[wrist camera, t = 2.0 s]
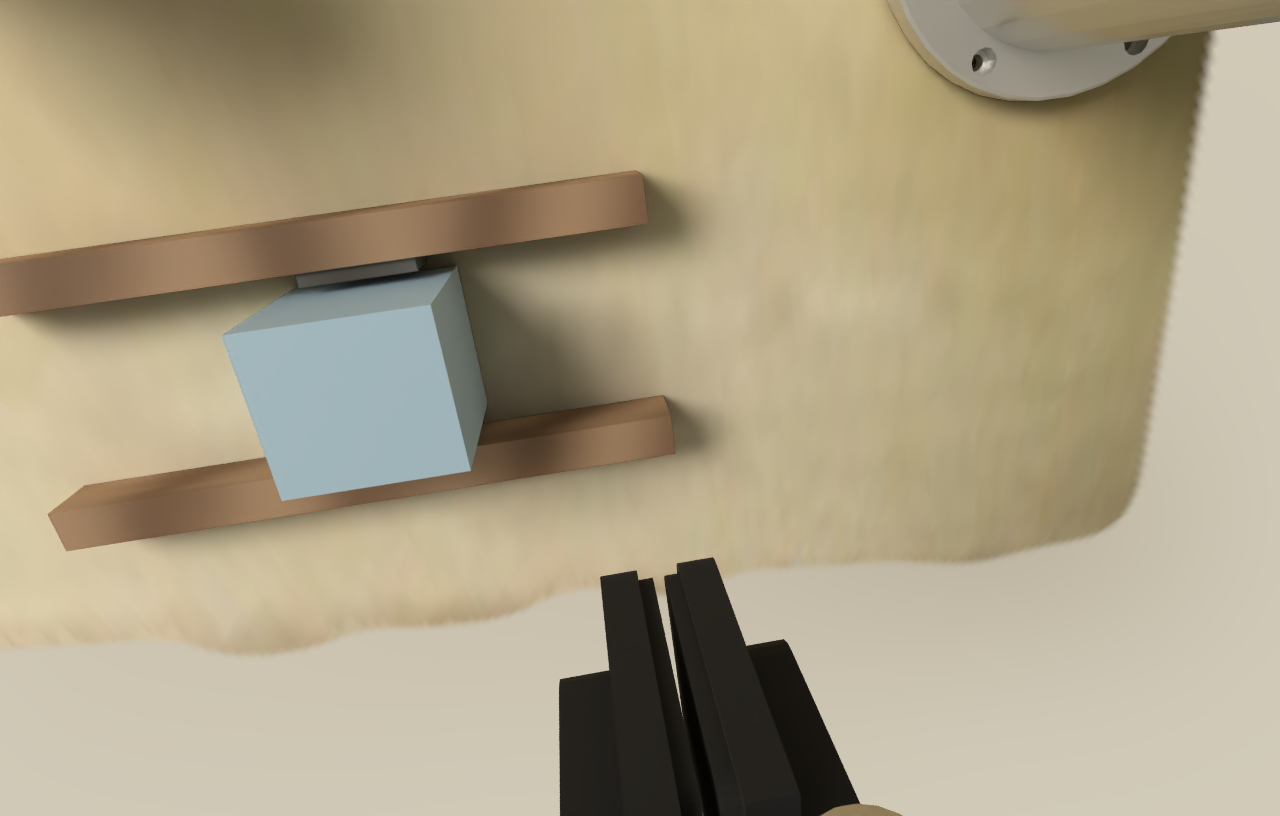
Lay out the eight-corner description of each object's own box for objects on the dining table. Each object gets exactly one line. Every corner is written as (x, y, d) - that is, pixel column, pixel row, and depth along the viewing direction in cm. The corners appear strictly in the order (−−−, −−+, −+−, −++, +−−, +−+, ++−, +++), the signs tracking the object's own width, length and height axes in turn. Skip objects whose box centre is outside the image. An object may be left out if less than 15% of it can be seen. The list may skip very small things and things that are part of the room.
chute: (635, 170, 26) (642, 174, 24) (667, 430, 30) (675, 453, 28) (-24, 262, 25) (-75, 275, 23) (101, 520, 29) (66, 551, 27)
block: (457, 265, 26) (430, 304, 21) (487, 402, 29) (470, 470, 23) (292, 289, 26) (221, 335, 21) (336, 426, 28) (281, 501, 23)
